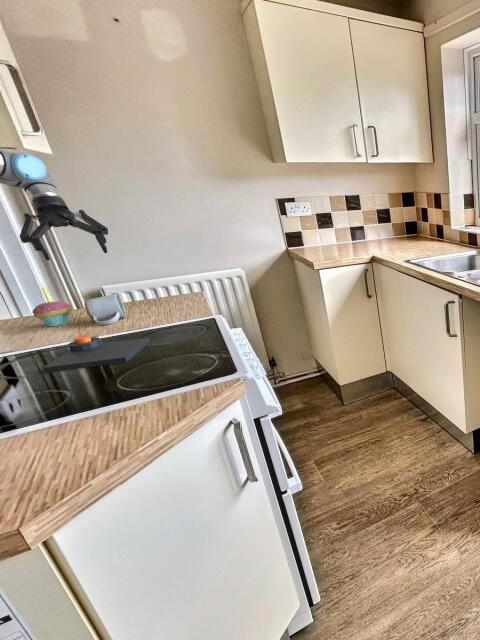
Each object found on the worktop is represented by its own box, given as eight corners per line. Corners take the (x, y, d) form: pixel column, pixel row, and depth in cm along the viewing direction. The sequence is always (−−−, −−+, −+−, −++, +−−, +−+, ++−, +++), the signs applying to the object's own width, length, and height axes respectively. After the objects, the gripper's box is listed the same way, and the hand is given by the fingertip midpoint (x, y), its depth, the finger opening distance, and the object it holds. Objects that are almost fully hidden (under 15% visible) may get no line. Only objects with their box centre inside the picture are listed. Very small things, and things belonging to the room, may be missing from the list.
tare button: (73, 345, 108) (71, 339, 107) (80, 341, 111) (78, 335, 110) (88, 343, 109) (86, 338, 108) (94, 339, 111) (92, 334, 111)
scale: (44, 373, 99) (39, 361, 98) (80, 349, 112) (75, 338, 111) (127, 362, 104) (122, 351, 103) (152, 340, 117) (148, 330, 116)
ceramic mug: (94, 319, 135) (84, 296, 132) (127, 313, 140) (118, 291, 137) (90, 328, 127) (79, 304, 124) (125, 322, 132) (116, 299, 129)
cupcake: (41, 324, 132) (23, 286, 127) (78, 317, 137) (62, 281, 132) (38, 331, 126) (19, 292, 121) (77, 323, 131) (60, 286, 126)
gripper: (100, 207, 148) (128, 254, 145) (-7, 214, 130) (23, 268, 127) (97, 191, 143) (126, 240, 140) (-14, 196, 125) (17, 252, 122)
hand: (77, 254), depth 134 cm, fingers open, 13 cm apart
